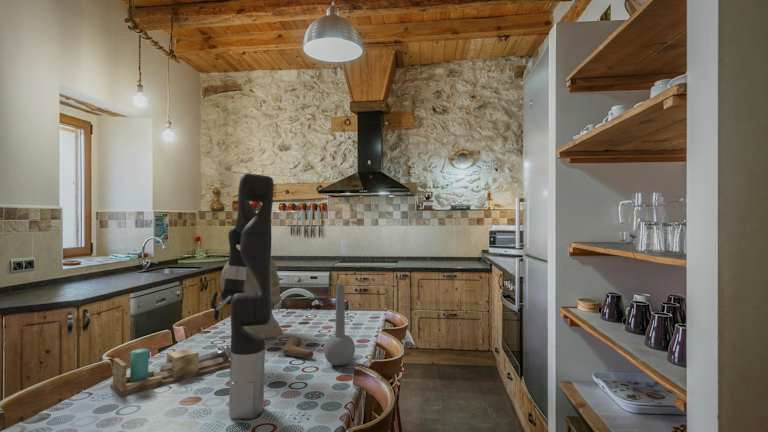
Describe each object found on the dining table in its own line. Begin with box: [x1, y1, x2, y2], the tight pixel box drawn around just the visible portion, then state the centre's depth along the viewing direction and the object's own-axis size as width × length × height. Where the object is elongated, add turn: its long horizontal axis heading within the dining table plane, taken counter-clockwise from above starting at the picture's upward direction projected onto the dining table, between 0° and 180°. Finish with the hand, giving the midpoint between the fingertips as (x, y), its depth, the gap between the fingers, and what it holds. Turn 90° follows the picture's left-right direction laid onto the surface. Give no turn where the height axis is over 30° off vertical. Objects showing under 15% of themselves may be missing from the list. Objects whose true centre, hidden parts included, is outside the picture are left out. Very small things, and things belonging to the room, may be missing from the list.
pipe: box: [282, 335, 314, 360], centre depth 161 cm, size 6×17×10 cm
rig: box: [109, 347, 230, 397], centre depth 137 cm, size 37×11×9 cm, turn 139°
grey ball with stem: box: [323, 284, 356, 367], centre depth 154 cm, size 12×19×30 cm, turn 12°
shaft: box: [159, 345, 231, 372], centre depth 142 cm, size 24×5×5 cm, turn 139°
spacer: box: [129, 348, 150, 383], centre depth 128 cm, size 5×5×10 cm
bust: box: [219, 257, 283, 340], centre depth 191 cm, size 25×28×40 cm
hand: (228, 320), depth 150 cm, fingers open, 8 cm apart
